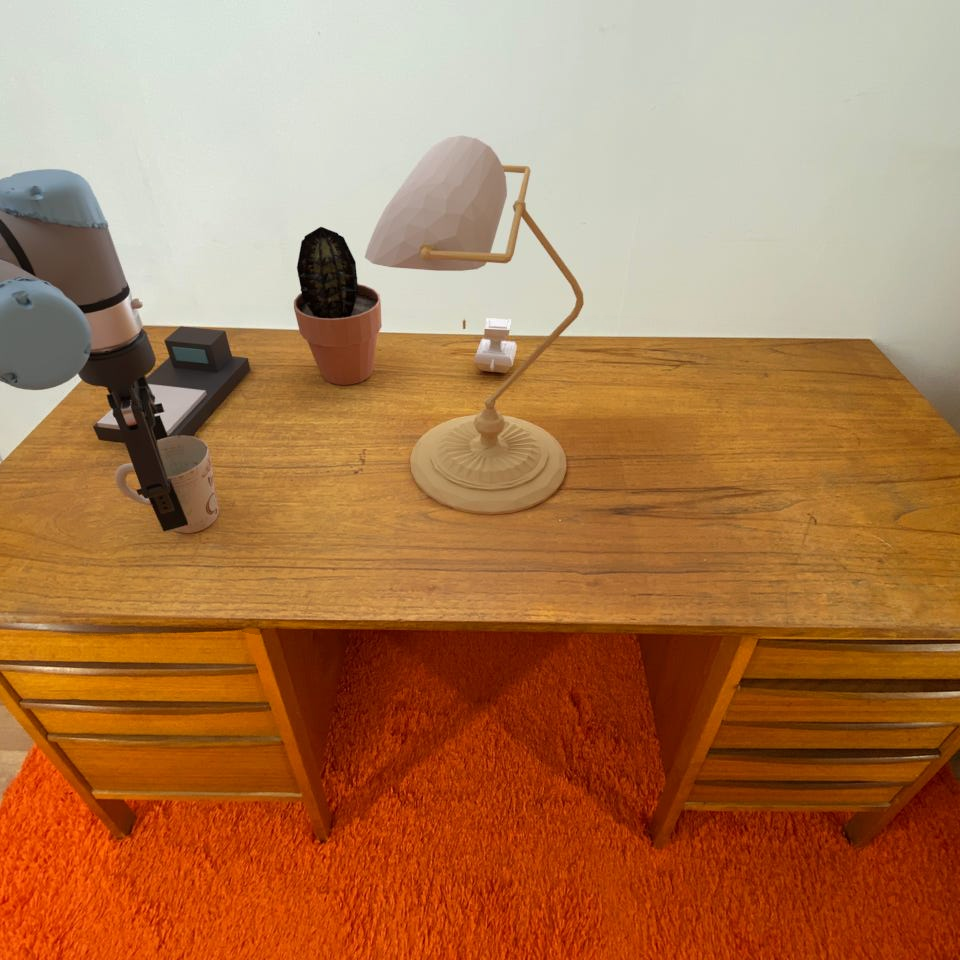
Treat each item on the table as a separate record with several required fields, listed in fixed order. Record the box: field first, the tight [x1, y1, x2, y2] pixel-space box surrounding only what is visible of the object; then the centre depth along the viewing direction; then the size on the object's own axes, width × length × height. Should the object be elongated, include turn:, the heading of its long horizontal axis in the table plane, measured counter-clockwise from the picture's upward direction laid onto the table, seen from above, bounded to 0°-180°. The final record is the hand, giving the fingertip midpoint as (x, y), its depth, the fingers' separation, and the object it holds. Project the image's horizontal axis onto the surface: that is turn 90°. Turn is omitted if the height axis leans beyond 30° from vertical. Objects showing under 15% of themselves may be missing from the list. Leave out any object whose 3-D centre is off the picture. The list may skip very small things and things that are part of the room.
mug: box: [114, 435, 219, 534], centre depth 79 cm, size 8×13×10 cm, turn 89°
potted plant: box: [293, 226, 383, 386], centre depth 102 cm, size 14×14×25 cm
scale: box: [92, 325, 252, 444], centre depth 100 cm, size 23×13×7 cm, turn 170°
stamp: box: [473, 317, 518, 374], centre depth 109 cm, size 9×7×8 cm
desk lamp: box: [364, 135, 585, 516], centre depth 79 cm, size 31×23×40 cm
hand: (170, 491), depth 79 cm, fingers open, 13 cm apart
